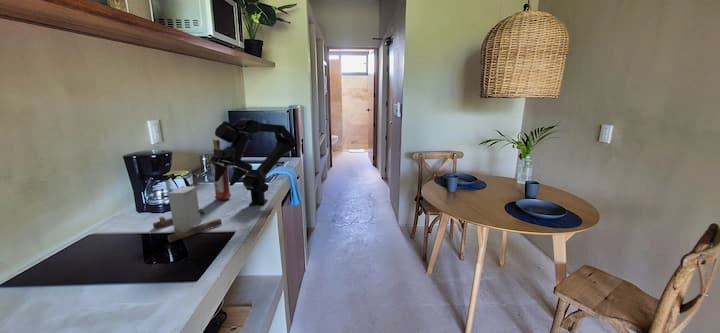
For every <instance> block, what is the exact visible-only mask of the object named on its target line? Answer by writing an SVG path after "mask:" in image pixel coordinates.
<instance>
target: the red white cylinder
mask: <svg viewBox="0 0 720 333" xmlns="http://www.w3.org/2000/svg"><path fill="white" fill-rule="evenodd" d="M212 142H213V150H214V149H221V140H220V138H218V139H217V138H215V139H213V140H212ZM209 164H210V165H209V166H210V170H211V175H212V180H213V184H214V186H213V187H214V192H215V197H214V199H216V200H217V201H226V200H229V199H230V197H232V194H231V191H230V181H229V165H228V166H224V167H227V169H226V171H225V172H224V173H223V175H222V176H221V178H220V179H219V180H218V182H215V167H214V165H213V164H212V161H210V160H209Z"/></svg>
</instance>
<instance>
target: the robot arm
mask: <svg viewBox="0 0 720 333" xmlns="http://www.w3.org/2000/svg"><path fill="white" fill-rule="evenodd" d="M261 132H264V133H274V138H275V140H276V143H275V148H273V150H272V151H271V152H270V153H269V154H268V156H266V158H265V159H264V160H263V162H262V163H260V165H259V166H258V167H257V168H256V169H255V168H254V169H253V164H252V163H249V162H247V161H245V160H242V158H243V156H246V155H247V152H246V149H247V146H248V143H249V142H252V143H253V142H254V139H253V137H252V135H251V134H256V133H261ZM214 134H215V137H217V138H218V139H221V140H223V141H225V142H227V143H230V146H226V147H224V148H220V149H214V148H213V152H212V156H211V158H210V159H209V162H210V161H212V164H213V165H214V167H215V182H218V180H219V179H220V178H221V176H222V175H223V173H224V172H225V171H226V169H227V167H224V166H228V167H229V166H232V170H233V172H232V174H231V175H232V176H231V178H230V181H229V187H230V186H231V187H232V186H234V185H235V184H236V183H237V182H238V181H239V180H241V178H242V184H243V186H244V187H245V189H246V191H250V198H251V202H250V203H249V204H248V206H253V205H254V206H255V205H257V206H262V207H263V206H265V204H266V203H267V202H268V199H266V197H265V193H266V192H267V191H269V185H268V184H267V183H266V178H267V175H268V174H269V173H270V172H271V170H272V169H273V168H274V167H275V165H277V163H278V162H279V161H280V159H281V158H283V156H284V155H285V154H287V153H289V152H291V151H292V150H293V149H295V148H296V145H297V141H296V138H295V137H294V135H293V134H292V133H291V132H290V131H289V130H288V129H287V127H286V126H285V125H283V124H273V123H272V124H271V123H265V122H264V123H262V122H260V121H258V120H255V119H253V118H252V119H250V118H239V119H238V120H237V122H235V123H234V124H231V123H230V122H229V121H225V120H224V121H222V123H221V124H219V125H218V126H217V127H216V129H215V131H214ZM255 207H256V206H255Z"/></svg>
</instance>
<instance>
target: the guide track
mask: <svg viewBox="0 0 720 333" xmlns="http://www.w3.org/2000/svg"><path fill="white" fill-rule="evenodd" d="M199 211H200V216H204V215H205V209H204V208H199ZM158 219H159V220H158V221H157V222H156V221H155V222H153V223H152V226H153V229H154V230H157V229H158V230H159V229H160V227H161V228H164V226H165V227H168V226H171V225H173V219H172V217H170V218H165V217H164V215H163V216H159V218H158ZM170 224H171V225H170ZM219 224H221V225H222V219H221V218H217V219H214V220H211V221H208V222H204V223H200V224H198V225H196V226H195V227H192V228H189V229H186V230H183V231H180V229H179V228H176V229H174V228H173V229H174V233H170V234H168V235H167V241H168V242H169V243H172V242H175V241H179V240H180V239H185V238H186V237H190V236H192V235H195V234H198V233H201V232H204V231H206V229H207V230H209V229H208V228H210V229H212V228H211V227H213V228H215V227H214V226H216V225H218V226H220V225H219ZM167 225H168V226H167ZM216 227H217V226H216Z"/></svg>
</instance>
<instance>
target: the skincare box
mask: <svg viewBox="0 0 720 333" xmlns="http://www.w3.org/2000/svg"><path fill="white" fill-rule="evenodd" d="M167 195H168V202H169V207H170V212H171V218H172V219H173V224H172V225H173V229H176V228H179V229H180V231H183V230H186V229H189V228H192V227H194V226H198V225H200V224H201V223H200V222H202V218H201V215H200V211H199V209H200V206H199V198H198V194H197V187H196V186H180V187H178V188H176V189H173V190H172V191H170V192H167ZM197 224H198V225H197Z"/></svg>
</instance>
